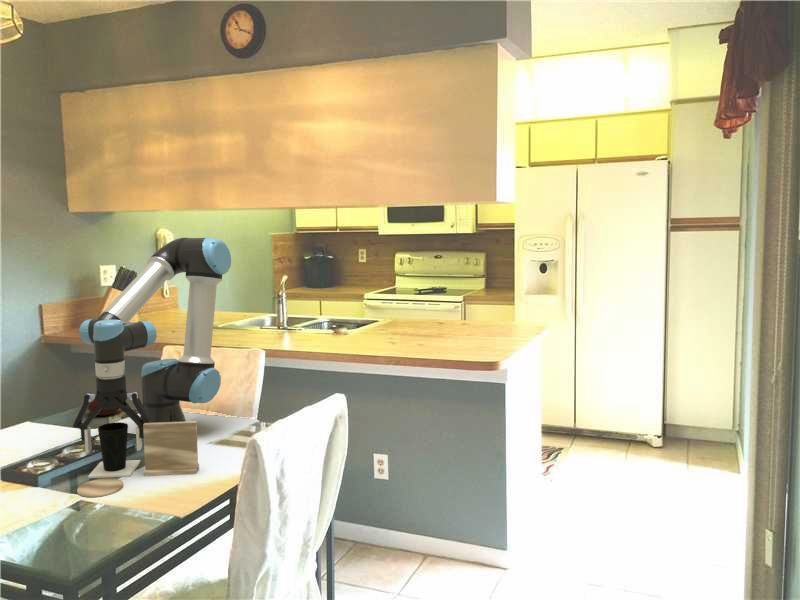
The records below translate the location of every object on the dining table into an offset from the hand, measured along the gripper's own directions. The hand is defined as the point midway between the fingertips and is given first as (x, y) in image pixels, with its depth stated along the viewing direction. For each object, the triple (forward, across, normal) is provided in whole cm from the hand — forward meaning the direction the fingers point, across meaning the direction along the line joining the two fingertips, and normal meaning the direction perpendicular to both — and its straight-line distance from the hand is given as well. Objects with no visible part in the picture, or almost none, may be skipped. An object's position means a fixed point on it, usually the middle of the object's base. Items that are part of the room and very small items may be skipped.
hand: (114, 450), depth 184 cm
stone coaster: (+6, 0, 0) cm, 6 cm away
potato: (+6, -19, +56) cm, 59 cm away
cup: (+5, 0, 0) cm, 5 cm away
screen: (+6, +16, -3) cm, 17 cm away
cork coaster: (+6, 0, -13) cm, 14 cm away
